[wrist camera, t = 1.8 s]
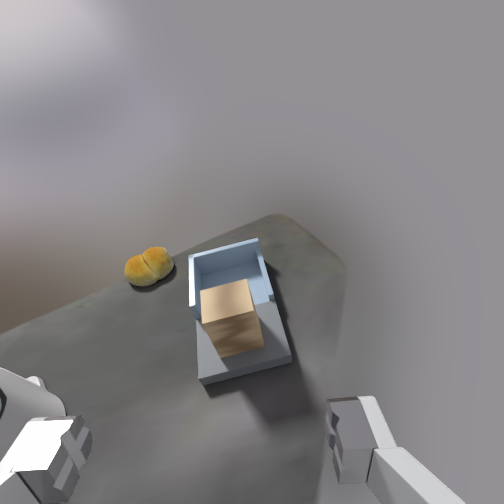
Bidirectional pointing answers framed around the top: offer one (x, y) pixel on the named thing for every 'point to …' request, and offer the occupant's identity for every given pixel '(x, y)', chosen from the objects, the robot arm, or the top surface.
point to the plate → (249, 361)
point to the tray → (229, 272)
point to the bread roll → (149, 267)
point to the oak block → (231, 318)
